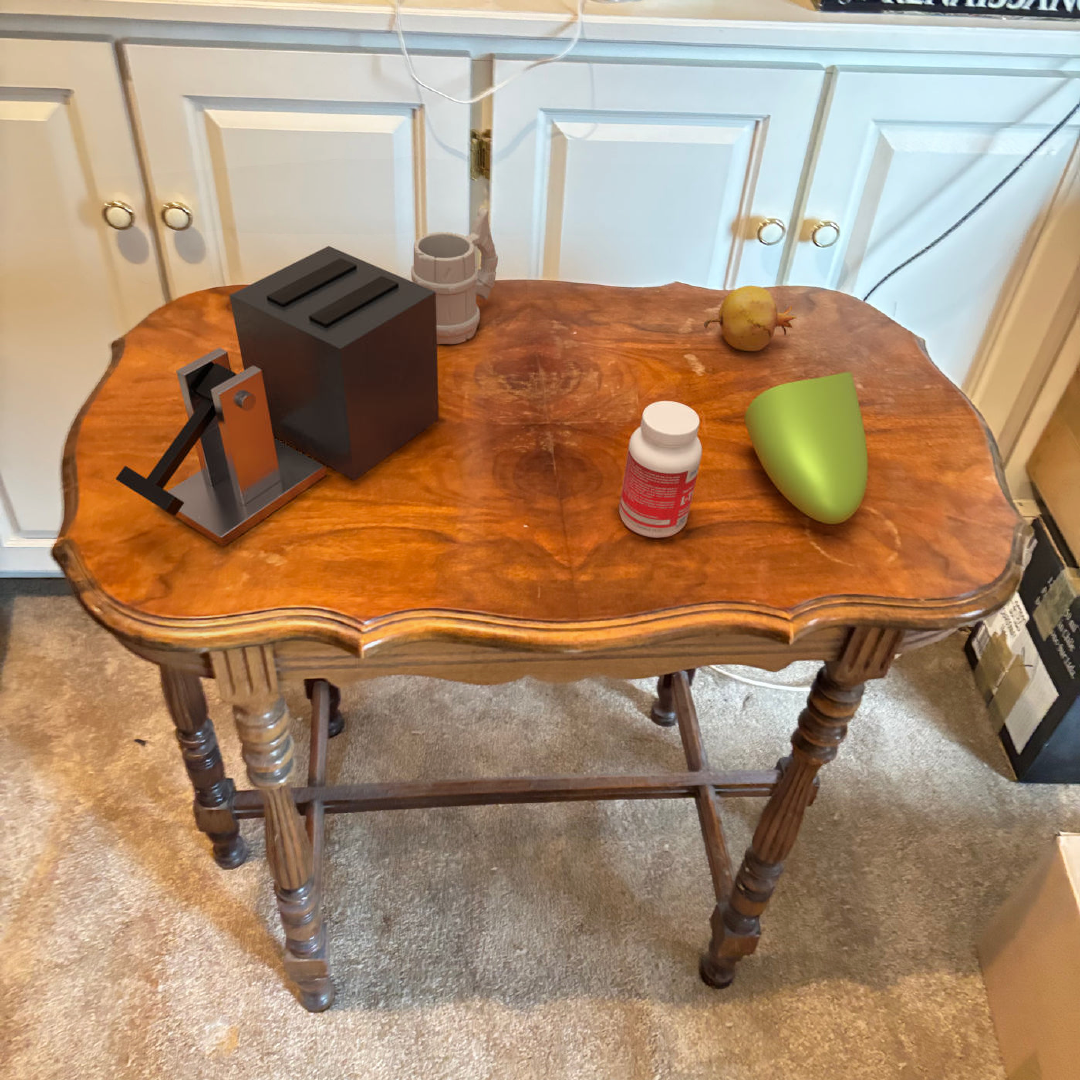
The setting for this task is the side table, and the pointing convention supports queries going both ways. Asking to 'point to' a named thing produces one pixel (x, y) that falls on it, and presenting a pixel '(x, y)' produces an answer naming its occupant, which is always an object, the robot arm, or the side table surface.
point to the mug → (456, 277)
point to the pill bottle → (661, 470)
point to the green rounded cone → (813, 444)
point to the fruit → (750, 318)
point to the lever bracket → (237, 456)
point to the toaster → (342, 357)
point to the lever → (177, 448)
